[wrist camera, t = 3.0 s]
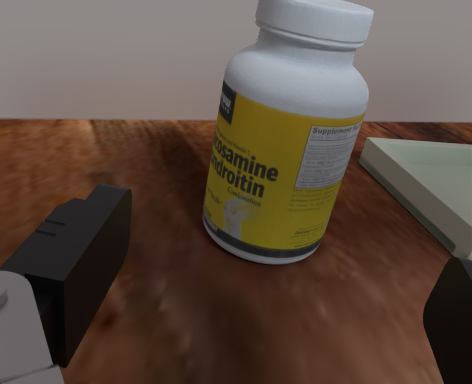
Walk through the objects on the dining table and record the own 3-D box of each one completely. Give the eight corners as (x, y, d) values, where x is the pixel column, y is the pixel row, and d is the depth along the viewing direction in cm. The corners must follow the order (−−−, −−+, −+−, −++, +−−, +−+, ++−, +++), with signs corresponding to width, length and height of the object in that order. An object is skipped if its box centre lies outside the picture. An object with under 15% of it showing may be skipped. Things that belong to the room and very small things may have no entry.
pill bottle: (192, 197, 25) (223, -24, 20) (296, 201, 27) (352, -1, 21) (211, 272, 20) (262, -3, 14) (339, 270, 22) (430, 25, 16)
